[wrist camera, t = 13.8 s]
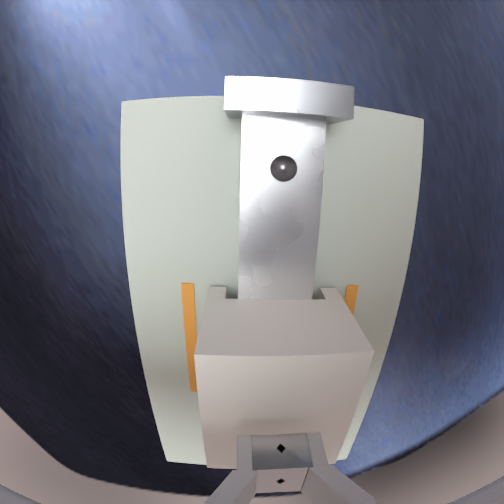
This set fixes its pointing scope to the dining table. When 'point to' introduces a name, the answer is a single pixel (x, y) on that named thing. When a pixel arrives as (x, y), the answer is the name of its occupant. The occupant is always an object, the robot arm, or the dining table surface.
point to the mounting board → (227, 237)
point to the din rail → (282, 178)
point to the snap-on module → (277, 370)
